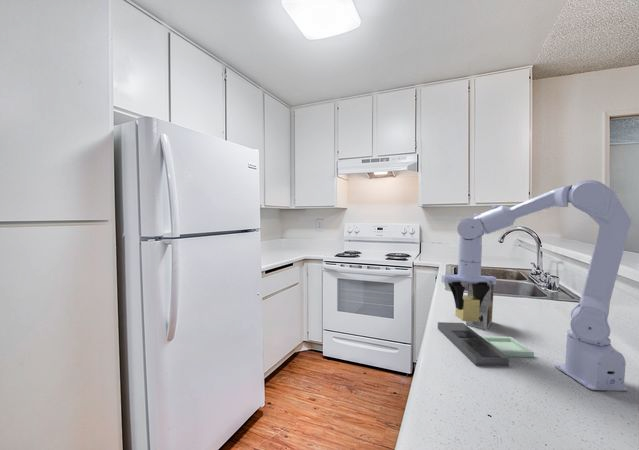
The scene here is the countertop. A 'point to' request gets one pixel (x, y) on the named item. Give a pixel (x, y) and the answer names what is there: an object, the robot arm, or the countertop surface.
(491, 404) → the countertop surface
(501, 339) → the tray
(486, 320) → the coffee box
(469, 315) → the brass cube
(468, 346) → the grey flat long piece
